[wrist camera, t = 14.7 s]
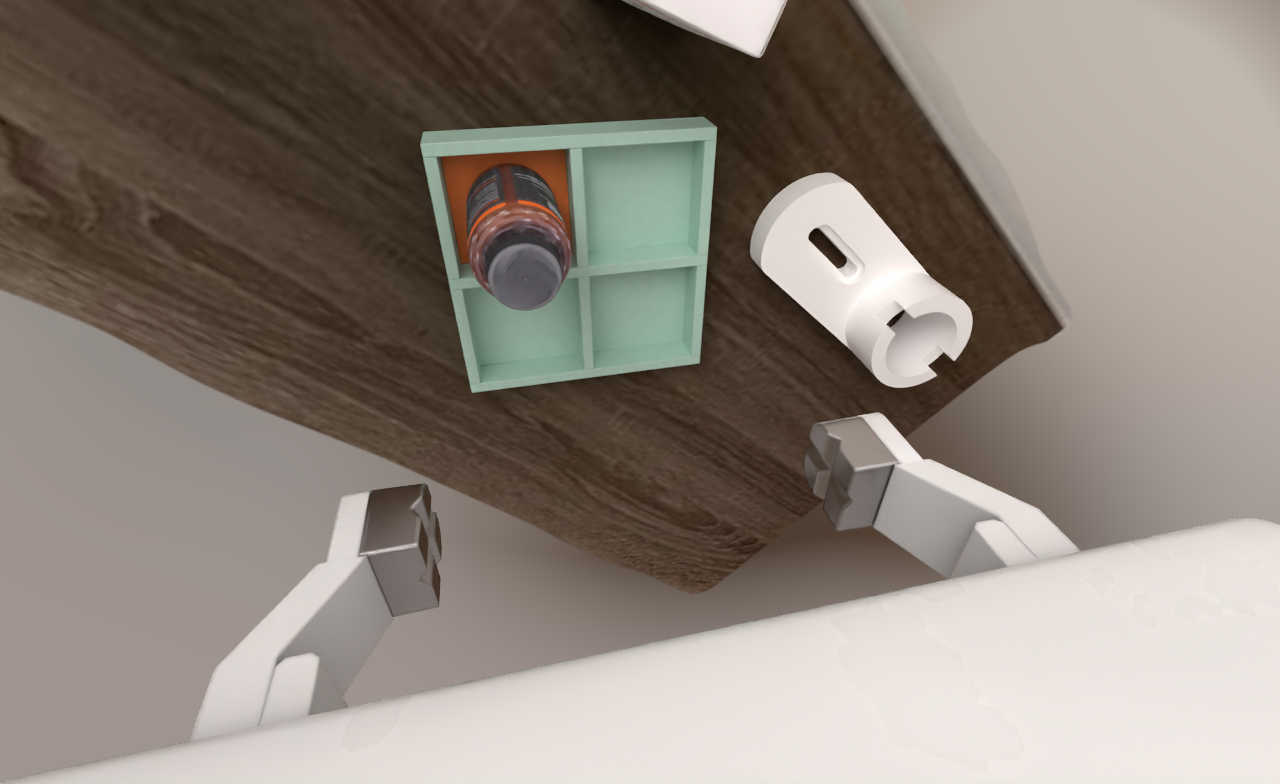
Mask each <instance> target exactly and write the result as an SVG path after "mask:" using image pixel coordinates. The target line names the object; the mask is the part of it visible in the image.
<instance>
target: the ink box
mask: <svg viewBox="0 0 1280 784" xmlns="http://www.w3.org/2000/svg"><path fill="white" fill-rule="evenodd" d="M622 1H624V2H626V3H629V4H631V5H633V6H635V7H637V8H639V9H641V10H643V11H645V12H647V13H650V14H652V15H654V16H656V17H658V18H660V19H663V20H665V21H667V22H669V23H671V24H674V25H676V26H678V27H680V28H683V29H685V30H688V31H690V32H693V33H695V34H698V35H700V36H703V37H705V38H708V39H710V40H713V41H715V42H718V43H721V44H724V45H726V46H729V47H731V48H734V49H736V50H739V51H741V52H743V53H746V54H748V55H750V56H753V57H756V58H760V57H761V56H762V55H763V53H764V51H765V49H766V46H767V44H768V42H769V40H770V38H771V35H772V33H773V31H774V29H775V27H776V25H777V22H778V20H779V18H780V16H781V14H782V12H783V9H784V7H785V5H786V2H787V0H622Z"/></svg>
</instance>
